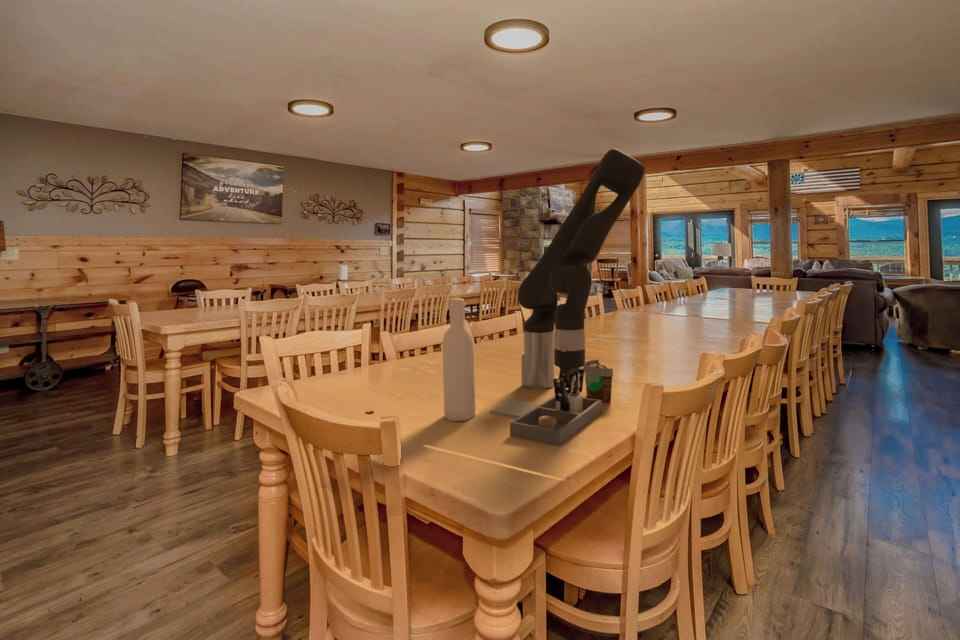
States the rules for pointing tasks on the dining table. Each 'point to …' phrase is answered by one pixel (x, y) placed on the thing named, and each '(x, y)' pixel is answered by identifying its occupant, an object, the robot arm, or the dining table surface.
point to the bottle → (458, 366)
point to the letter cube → (573, 403)
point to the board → (513, 408)
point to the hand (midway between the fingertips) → (569, 413)
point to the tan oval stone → (547, 422)
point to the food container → (598, 381)
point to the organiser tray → (565, 422)
